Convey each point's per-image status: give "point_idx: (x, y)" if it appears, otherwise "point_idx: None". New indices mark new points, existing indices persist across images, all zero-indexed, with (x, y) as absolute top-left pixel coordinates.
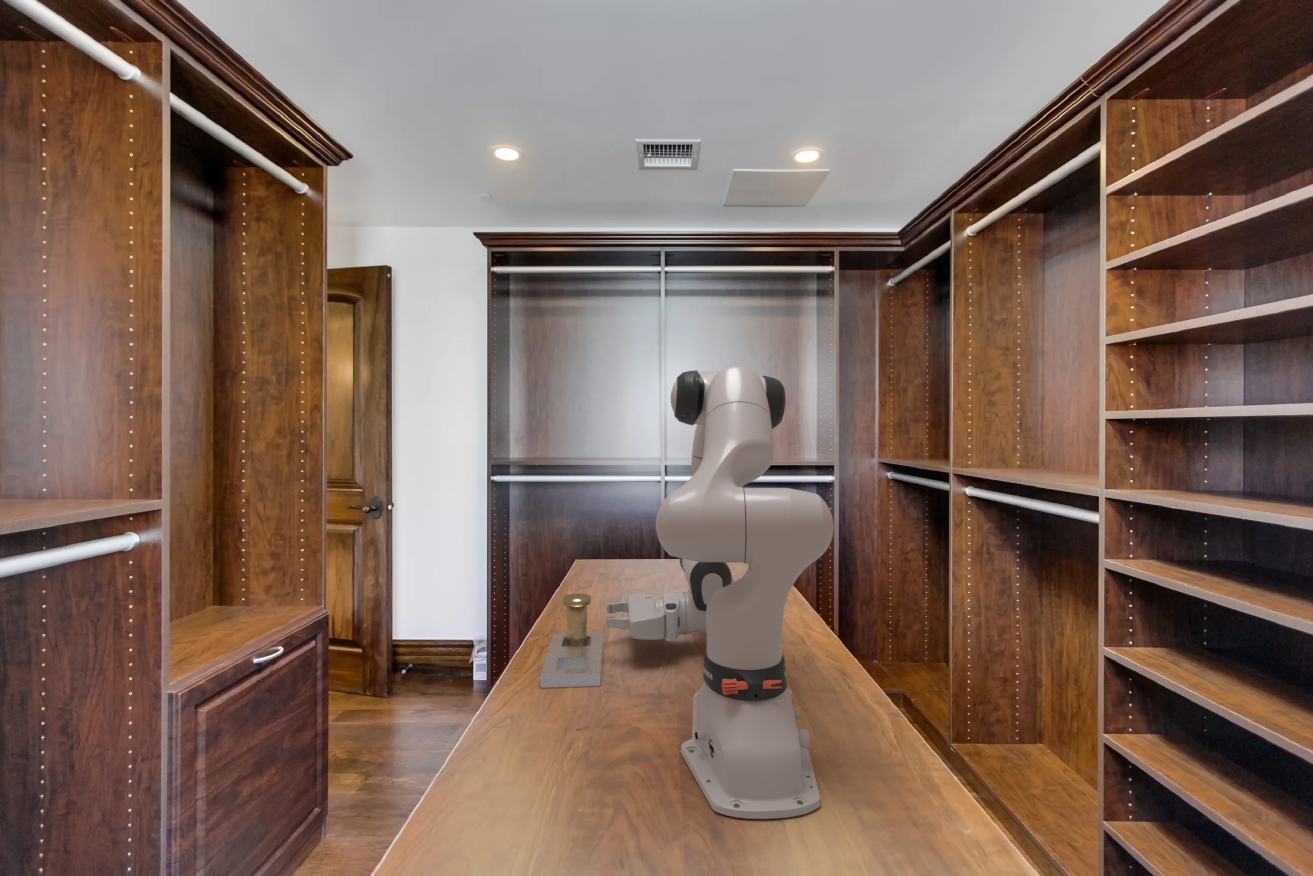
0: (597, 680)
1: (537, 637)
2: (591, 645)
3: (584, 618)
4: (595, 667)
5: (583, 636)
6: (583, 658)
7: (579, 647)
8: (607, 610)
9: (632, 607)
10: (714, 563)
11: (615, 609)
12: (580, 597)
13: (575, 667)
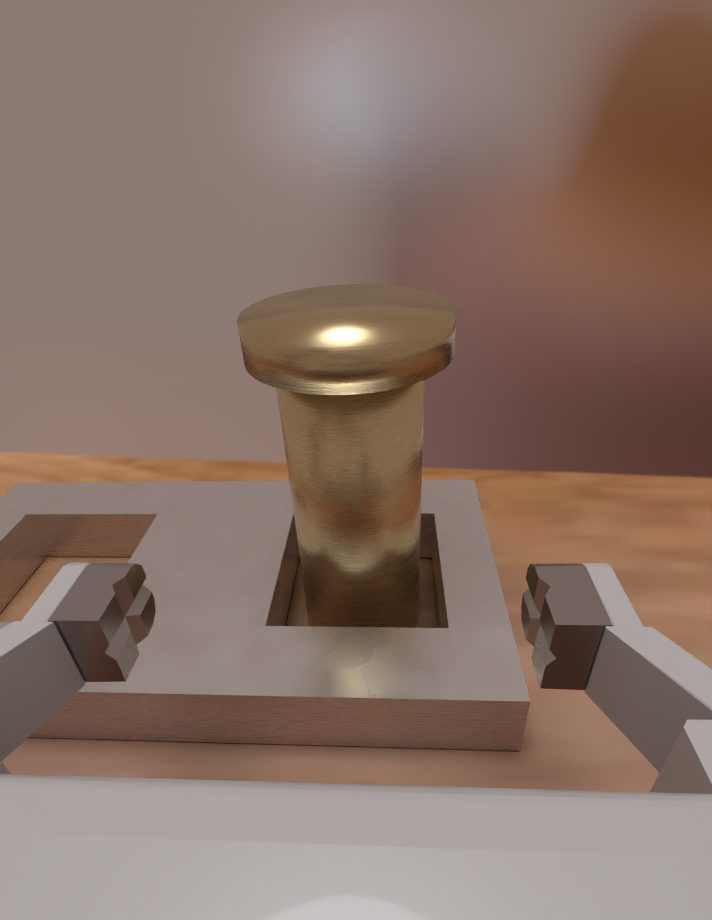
0: None
1: (559, 473)
2: (269, 632)
3: (303, 469)
4: None
5: (309, 560)
6: None
7: (256, 577)
8: (524, 594)
9: (179, 849)
10: None
11: (596, 673)
12: (337, 318)
13: None
